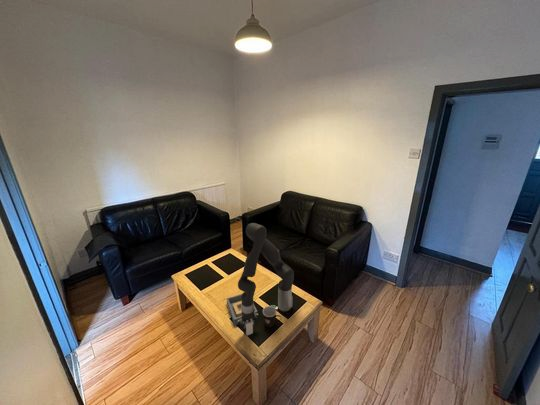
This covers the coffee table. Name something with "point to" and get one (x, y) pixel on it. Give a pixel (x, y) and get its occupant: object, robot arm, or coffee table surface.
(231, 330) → the coffee table surface
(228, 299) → the walled box
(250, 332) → the peg
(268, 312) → the coffee mug
